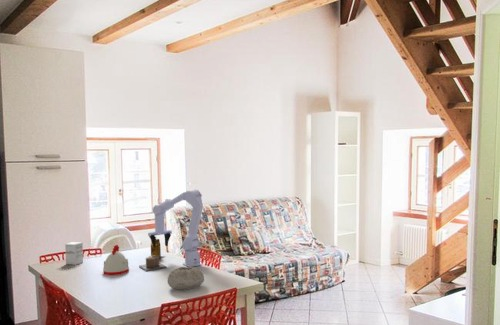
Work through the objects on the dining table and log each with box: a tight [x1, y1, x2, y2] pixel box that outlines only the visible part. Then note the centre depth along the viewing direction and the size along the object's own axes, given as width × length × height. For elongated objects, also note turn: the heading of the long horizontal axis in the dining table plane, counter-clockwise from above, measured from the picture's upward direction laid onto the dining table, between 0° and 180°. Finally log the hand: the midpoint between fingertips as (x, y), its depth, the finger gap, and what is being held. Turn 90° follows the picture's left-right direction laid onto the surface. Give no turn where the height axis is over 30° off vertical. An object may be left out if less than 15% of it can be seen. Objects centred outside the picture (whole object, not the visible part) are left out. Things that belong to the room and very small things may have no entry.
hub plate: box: [138, 262, 167, 272], centre depth 260 cm, size 12×12×4 cm
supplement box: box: [64, 241, 84, 266], centre depth 275 cm, size 7×7×13 cm
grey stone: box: [167, 266, 205, 291], centre depth 218 cm, size 18×18×10 cm
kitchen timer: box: [102, 244, 130, 276], centre depth 252 cm, size 14×14×15 cm
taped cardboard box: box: [145, 255, 160, 267], centre depth 260 cm, size 5×5×6 cm
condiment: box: [150, 238, 166, 260], centre depth 284 cm, size 7×8×12 cm
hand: (160, 246), depth 273 cm, fingers open, 7 cm apart
